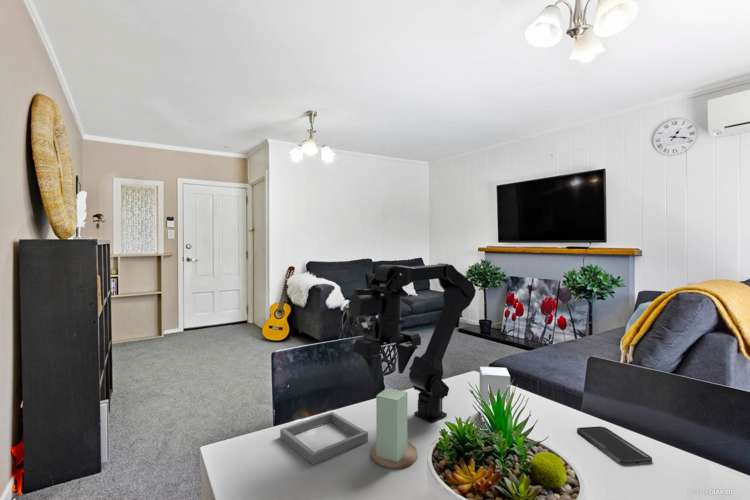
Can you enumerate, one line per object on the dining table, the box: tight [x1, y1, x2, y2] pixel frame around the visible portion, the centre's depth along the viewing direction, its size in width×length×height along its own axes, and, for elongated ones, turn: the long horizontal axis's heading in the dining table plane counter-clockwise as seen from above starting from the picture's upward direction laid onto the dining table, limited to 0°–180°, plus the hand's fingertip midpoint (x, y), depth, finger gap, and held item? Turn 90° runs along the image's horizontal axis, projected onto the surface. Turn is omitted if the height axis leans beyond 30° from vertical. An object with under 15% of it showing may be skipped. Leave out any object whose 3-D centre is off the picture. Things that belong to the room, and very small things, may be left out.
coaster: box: [370, 441, 418, 470], centre depth 83 cm, size 10×10×1 cm
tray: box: [279, 411, 369, 465], centre depth 90 cm, size 15×15×2 cm
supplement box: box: [478, 366, 511, 423], centre depth 101 cm, size 7×7×13 cm
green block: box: [375, 387, 408, 462], centre depth 82 cm, size 5×5×13 cm
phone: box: [576, 425, 653, 466], centre depth 87 cm, size 8×1×15 cm
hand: (387, 376), depth 95 cm, fingers open, 9 cm apart
